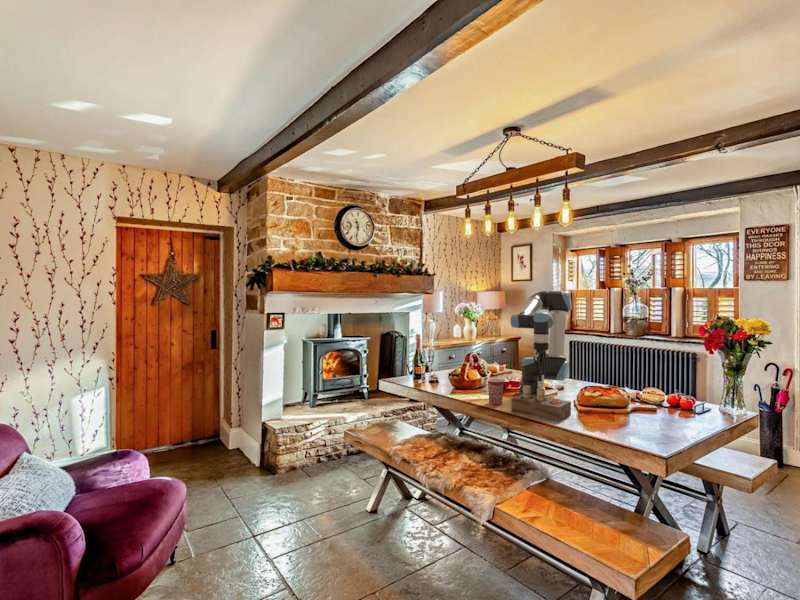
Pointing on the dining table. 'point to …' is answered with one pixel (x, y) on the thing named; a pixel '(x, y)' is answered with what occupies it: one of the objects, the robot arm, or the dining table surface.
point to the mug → (496, 391)
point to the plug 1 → (526, 392)
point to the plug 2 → (555, 400)
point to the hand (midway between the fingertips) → (540, 387)
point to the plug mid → (541, 394)
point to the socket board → (541, 407)
